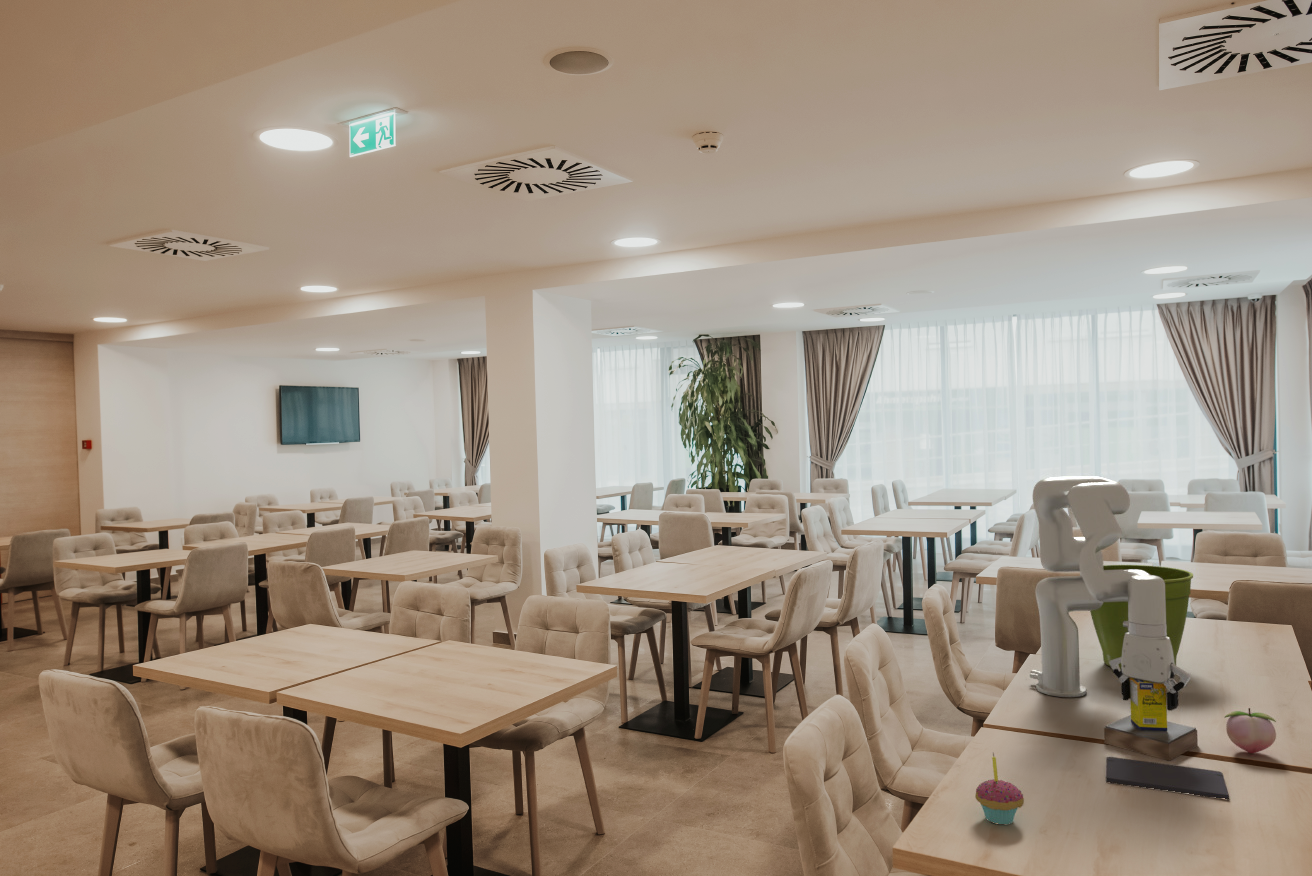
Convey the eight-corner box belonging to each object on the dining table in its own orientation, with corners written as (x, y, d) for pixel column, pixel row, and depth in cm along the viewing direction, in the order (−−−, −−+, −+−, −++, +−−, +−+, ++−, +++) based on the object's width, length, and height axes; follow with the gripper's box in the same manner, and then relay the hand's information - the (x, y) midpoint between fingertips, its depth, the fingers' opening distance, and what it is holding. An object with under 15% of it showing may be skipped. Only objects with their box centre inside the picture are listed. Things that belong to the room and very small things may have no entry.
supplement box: (1168, 731, 193) (1166, 683, 193) (1139, 730, 195) (1137, 682, 195) (1158, 722, 199) (1157, 675, 199) (1130, 721, 200) (1128, 675, 200)
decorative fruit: (1268, 747, 192) (1267, 703, 192) (1281, 761, 185) (1280, 715, 185) (1220, 744, 196) (1218, 700, 195) (1231, 757, 188) (1229, 711, 188)
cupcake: (968, 811, 166) (966, 749, 166) (1010, 808, 166) (1008, 746, 166) (989, 831, 157) (987, 766, 157) (1033, 828, 158) (1031, 763, 158)
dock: (1104, 743, 198) (1104, 726, 198) (1134, 729, 206) (1133, 713, 206) (1169, 760, 187) (1168, 742, 187) (1197, 745, 195) (1197, 728, 195)
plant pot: (1196, 660, 264) (1193, 567, 264) (1195, 685, 239) (1192, 582, 239) (1088, 649, 280) (1086, 562, 280) (1077, 672, 255) (1075, 576, 255)
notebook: (1106, 784, 177) (1229, 803, 167) (1105, 777, 177) (1229, 795, 167) (1106, 763, 188) (1222, 778, 178) (1106, 755, 188) (1222, 771, 178)
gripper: (1101, 626, 201) (1103, 698, 201) (1180, 638, 187) (1183, 716, 187) (1117, 621, 206) (1119, 692, 206) (1195, 633, 192) (1198, 709, 192)
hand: (1149, 703), depth 197 cm, fingers open, 9 cm apart
